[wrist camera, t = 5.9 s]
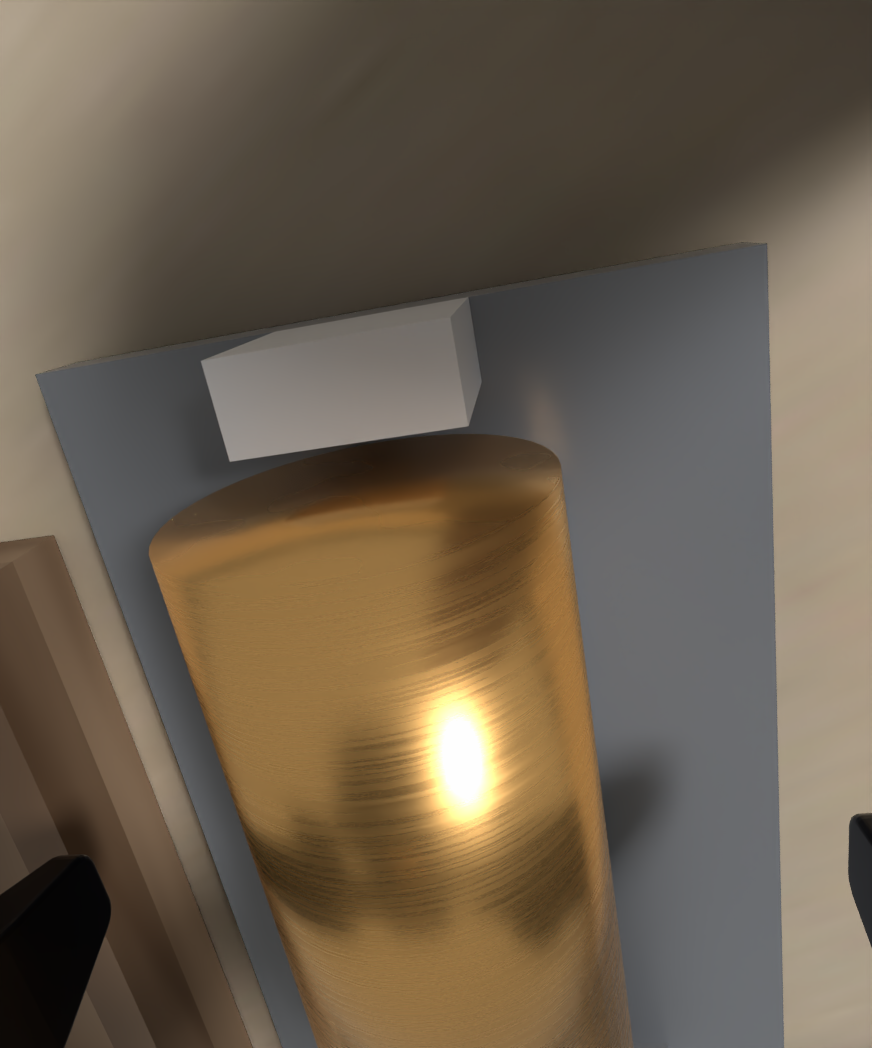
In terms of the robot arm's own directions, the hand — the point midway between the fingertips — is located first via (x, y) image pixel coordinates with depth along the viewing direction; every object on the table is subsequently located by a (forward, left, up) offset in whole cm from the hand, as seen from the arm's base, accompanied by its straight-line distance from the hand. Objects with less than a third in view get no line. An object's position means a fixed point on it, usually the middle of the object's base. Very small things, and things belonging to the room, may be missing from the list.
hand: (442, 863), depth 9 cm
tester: (0, +3, -3) cm, 4 cm away
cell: (0, 0, 0) cm, 0 cm away
